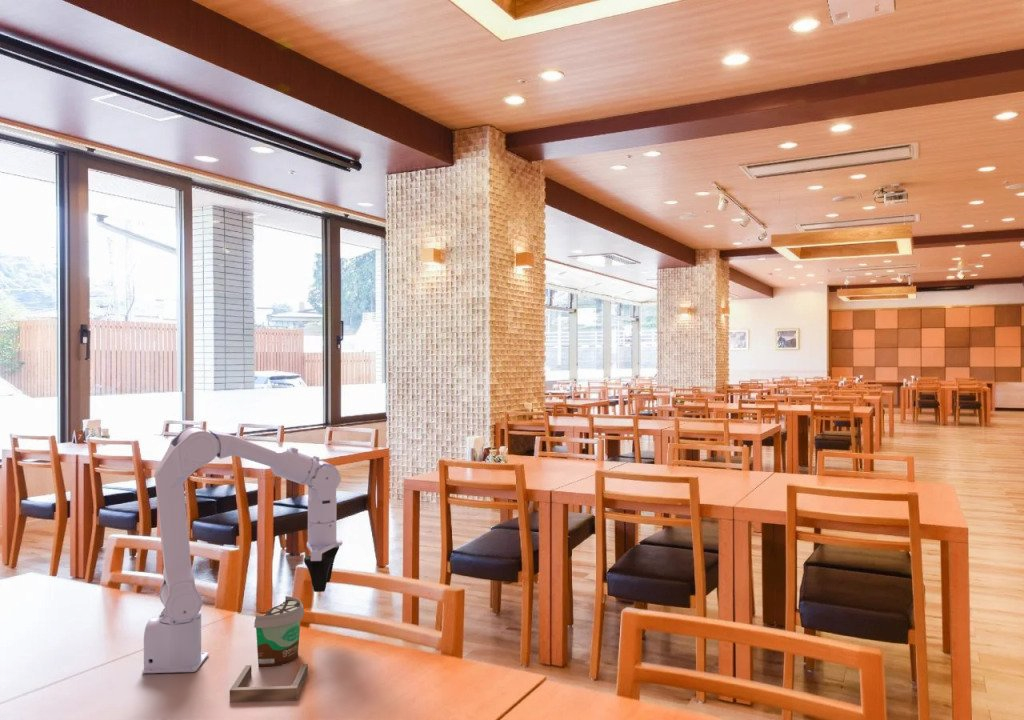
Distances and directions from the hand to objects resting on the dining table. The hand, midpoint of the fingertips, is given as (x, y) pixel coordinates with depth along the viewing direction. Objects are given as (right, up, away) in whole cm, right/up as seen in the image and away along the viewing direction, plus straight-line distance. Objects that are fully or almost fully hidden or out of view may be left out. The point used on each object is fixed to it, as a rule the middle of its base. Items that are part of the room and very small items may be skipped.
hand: (322, 586), depth 156 cm
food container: (-4, -11, -11) cm, 16 cm away
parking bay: (-3, -11, -23) cm, 26 cm away
